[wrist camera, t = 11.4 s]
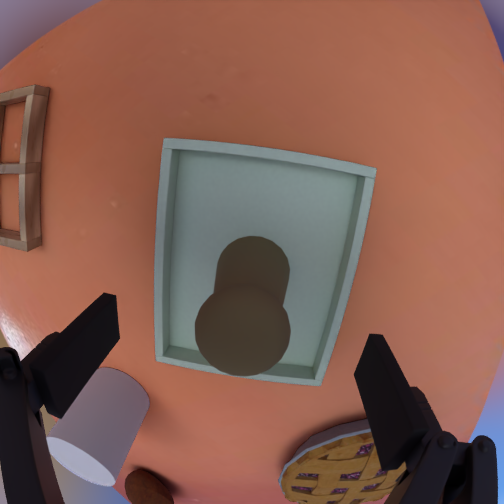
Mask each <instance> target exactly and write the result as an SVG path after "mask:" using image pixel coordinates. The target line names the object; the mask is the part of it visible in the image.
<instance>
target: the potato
mask: <svg viewBox="0 0 504 504" xmlns="http://www.w3.org/2000/svg"><path fill="white" fill-rule="evenodd" d="M125 490H126V495H127V497H128V499H129V500H130V501H131V502H132V504H174V500H173V498H172V495H171V493H170V492H169V490H168V489H167V488H166V487H165V486H164V485H163V484H162V483H161V482H160V481H159V480H158V479H157V478H156V477H154V476H153V475H151V474H149V473H148V472H146V471H143V470H136V471H133V472H131V473H130V474H129V475H128V476H127V478H126V480H125Z"/></svg>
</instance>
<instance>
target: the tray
mask: <svg viewBox="0 0 504 504" xmlns="http://www.w3.org/2000/svg"><path fill="white" fill-rule="evenodd" d="M376 170H377V168H374V167H370V166H365V165H361V164H356V163H352V162H347V161H342V160H337V159H332V158H327V157H322V156H317V155H311V154H305V153H299V152H293V151H287V150H281V149H274V148H267V147H260V146H252V145H244V144H235V143H226V142H216V141H205V140H193V139H179V138H164V140H163V149H162V158H161V167H160V177H159V189H158V202H157V217H156V235H155V263H154V329H155V354H156V355H155V356H156V361H159V362H163V363H167V364H172V365H176V366H181V367H186V368H190V369H195V370H200V371H206V372H211V373H217V374H223V375H229V374H227V373H224V372H221V371H219V370H218V369H216V368H215V367H213V366H212V365H210V364H209V363H208V361H207V360H206V359H205V358H204V357H203V355H202V354H201V353H200V351H199V348H198V346H197V344H196V341H195V320H196V317H197V315H198V312H199V309H200V307H201V306H202V304H203V303H204V302H205V301H206V300H207V299H208V297H209V296H210V295H212V294H213V291H214V284H215V276H216V269H217V263H218V260H219V257H220V255H221V252H222V251H223V250H224V249H225V248H226V246H227V245H228V244H230V243H231V242H233V241H235V240H236V239H238V238H242V237H246V236H260V237H264V238H266V239H269V240H271V241H273V242H274V243H276V244H277V245H278V246H279V247H280V248H282V250H283V252H284V253H285V255H286V256H287V258H288V262H289V266H290V275H289V282H288V286H287V291H286V295H285V299H284V304H283V307H284V309H285V310H286V312H287V314H288V318H289V322H290V328H291V334H290V341H289V345H288V348H287V350H286V352H285V353H284V355H283V357H282V359H281V360H280V361H279V362H278V363H276V364H275V365H274V366H273V367H272V368H270V369H269V370H267V371H265V372H263V373H260V374H258V375H253V376H246V377H243V376H235V377H241V378H248V379H255V380H263V381H271V382H280V383H289V384H300V385H311V386H321V383H322V381H323V378H324V375H325V372H326V369H327V366H328V363H329V360H330V357H331V354H332V351H333V348H334V345H335V342H336V339H337V336H338V332H339V329H340V326H341V323H342V319H343V316H344V312H345V309H346V305H347V302H348V298H349V295H350V291H351V287H352V283H353V280H354V276H355V272H356V268H357V264H358V260H359V255H360V251H361V247H362V243H363V238H364V233H365V229H366V224H367V219H368V214H369V209H370V204H371V199H372V193H373V188H374V182H375V176H376ZM229 376H233V375H229Z"/></svg>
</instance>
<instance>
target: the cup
mask: <svg viewBox="0 0 504 504" xmlns="http://www.w3.org/2000/svg"><path fill="white" fill-rule="evenodd" d="M149 405H150V402H149V398H148V395H147V393H146V392H145V390H144V389H143V387H142V386H141V385H140V384H139V383H138V382H137V381H136V380H134V379H133V378H132V377H130V376H129V375H127V374H125V373H124V372H122V371H119V370H116V369H113V368H107V367H104V368H99V369H97V370H96V371H95V373H94V374H93V375H92V377H91V378H90V380H89V381H88V382H87V384H86V385H85V386H84V388H83V389H82V391H81V392H80V393H79V395H78V396H77V398H76V399H75V401H74V402H73V403H72V405H71V406H70V408H69V409H68V411H67V412H66V413H65V415H64V416H63V418H62V419H59V420H58V421H57V423H56V424H55V426H54V427H53V428H52V430H51V431H50V433H49V434H48V436H47V437H46V439H47V444H48V448H49V452H50V453H51V454H52V456H53V457H54V458H55V459H56V460H57V461H58V462H59V463H61V464H62V465H63V466H64V467H65V468H67V469H68V470H70V471H71V472H72V473H74V474H76V475H77V476H79V477H81V478H83V479H85V480H87V481H89V482H92V483H95V484H98V485H102V486H112V485H114V484H115V481H116V479H117V477H118V475H119V472H120V470H121V468H122V466H123V463H124V461H125V459H126V457H127V455H128V452H129V450H130V448H131V446H132V443H133V441H134V439H135V437H136V435H137V433H138V430H139V428H140V426H141V424H142V422H143V420H144V417H145V415H146V413H147V411H148V409H149Z"/></svg>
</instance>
